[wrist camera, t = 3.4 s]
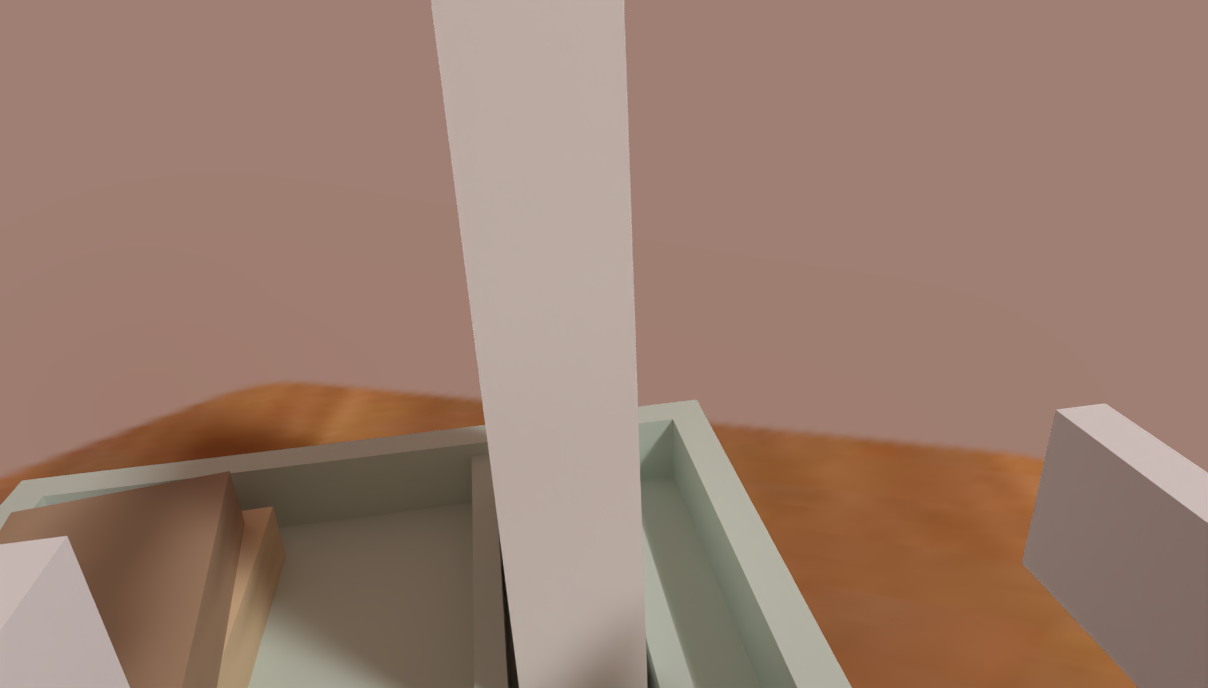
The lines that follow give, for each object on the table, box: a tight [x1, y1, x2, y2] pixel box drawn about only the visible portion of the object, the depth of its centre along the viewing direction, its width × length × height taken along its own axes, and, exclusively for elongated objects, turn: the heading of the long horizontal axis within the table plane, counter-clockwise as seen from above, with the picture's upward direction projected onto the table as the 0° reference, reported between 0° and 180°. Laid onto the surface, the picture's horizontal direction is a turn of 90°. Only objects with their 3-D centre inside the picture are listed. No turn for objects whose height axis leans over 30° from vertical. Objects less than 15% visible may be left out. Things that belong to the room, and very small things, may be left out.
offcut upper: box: [0, 471, 245, 688], centre depth 21 cm, size 6×9×2 cm, turn 17°
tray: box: [0, 400, 852, 688], centre depth 23 cm, size 24×16×4 cm, turn 99°
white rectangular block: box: [431, 0, 648, 688], centre depth 20 cm, size 3×9×18 cm, turn 9°
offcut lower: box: [217, 507, 286, 688], centre depth 22 cm, size 7×10×2 cm
